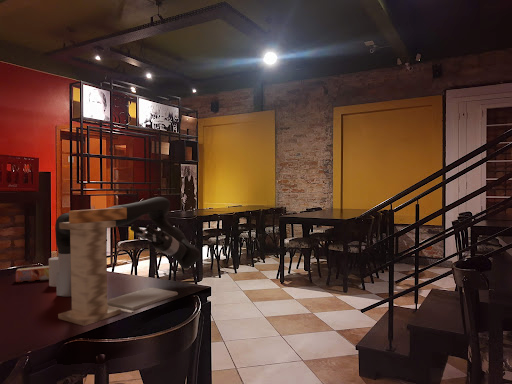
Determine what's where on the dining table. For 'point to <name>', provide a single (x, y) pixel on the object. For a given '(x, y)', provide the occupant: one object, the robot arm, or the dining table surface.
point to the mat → (140, 298)
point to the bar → (97, 215)
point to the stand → (88, 273)
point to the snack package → (32, 274)
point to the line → (123, 309)
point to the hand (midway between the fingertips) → (138, 227)
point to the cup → (53, 271)
